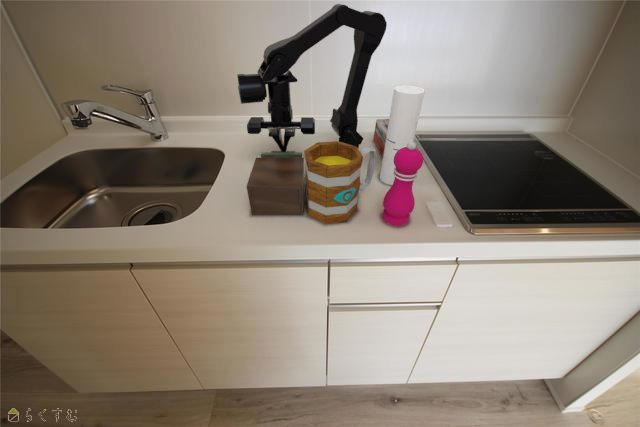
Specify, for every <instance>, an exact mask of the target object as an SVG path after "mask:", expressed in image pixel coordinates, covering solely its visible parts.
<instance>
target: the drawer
mask: <svg viewBox="0 0 640 427" xmlns="http://www.w3.org/2000/svg"><path fill="white" fill-rule="evenodd" d="M260 158H303V152H302V151H299V152H297V151H296V150H286V151H281V150H271V151H270V152H269V151H268V152H267V151H262V152H260Z"/></svg>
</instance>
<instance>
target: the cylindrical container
mask: <svg viewBox="0 0 640 427" xmlns="http://www.w3.org/2000/svg"><path fill="white" fill-rule="evenodd" d="M425 91H426V90H425V89H424V88H423V87H420V86H417V85H410V84H403V85H396V86H394V88H393V94H392V100H391V104H390V113H389V118H388V119H389V124H388V130H387V136H386V142H385V149H384V155H383V156H382V162H381V168H380V173H379V179H380V181H381V182H382V183H384V184H386V185H390V186H392V185H393V183H394V179H395V176H394V175H393V172H394V168H395V165H394V162H393V161H394V156H395V154H396V152H397V151H398V150H399V149H401V148H404V147H407V144H408V143H409V142H411V141H412V142H415V136H416V132H417V128H418V122H419V119H420V113H421V110H422V105H423V100H424V98H425Z"/></svg>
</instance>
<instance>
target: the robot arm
mask: <svg viewBox="0 0 640 427" xmlns="http://www.w3.org/2000/svg"><path fill="white" fill-rule="evenodd" d="M387 23H388V22H387V20H386V18H385V16H384V15H383V14H382V13H380V12H377V11H376V12H375V11H371V10H364V11H359V10H358V9H357V10H356V9H354V8H351V7H350V6H348V5H346V4H342V3H336V4H334V5H333V6H332V7H331V9H329V10H327V11H326V12H325V13H323V14H322V15H320V16H319V17H318V18H316V19H315V20H314V21H312V22H311V23H309V24H308V25H307V26H305V27H304V28H302V29H301V30H299V31H298V32H297V33H295V34H294V35H291V36H290V37H287V38H284V39H280V40H278V41H276V42H274V43H271V44H269V45H268V46H267V47H266V48H265V49H264V51H263V60H262V62H261V64H260V66H259V68H258V70H257V72H256V73H248V74H245V73H238V74H237V76H236V77H237V85H238V86H237V90H238V95H239V99H240V104H241V105H245V104H256V103H263V102H264V101H266V98H268V101H267V113H268V114H269V115H270V121H265V119H264V117H263V116H251V117H250V118H249V120H248V122H247V124H246V132H247V134H249V135H259V134H261V132H262V130H263V129H267V130H268V137H270V138H272V139H273V140H274V141H275V143H276V144H277V146H278V148H279V151H287V149H288V145H289V142H290V140H291V138H294V137H295V136H296V130H300V132H301V134H302V135H314V134H316V119H315V118H314V117H313V116H311V117H310V116H309V117H304V116H303V117H302V116H301V117H300V121H294V120H293V106H292V101H291V84H290V83H297V82H298V79H297V77H296V76H295V75H293V73H292V72H291V68H292V67H293V66H294V65H296V63H297V62H298V60H299V59H300V57H301V56H302V55H303V54H304V53H305V52H307V51H308V50H310V49H312V48H313V47H314V46H315V45H317V44H319V43H320V42H321V41H323V40H324V39H326V38H327V37H328V36H329V35H331V34H333V33H334V32H336V31H338V29H340V28H341V27H343V26H345V27H348V28H351V29H353V45H354V51H353V55H352V60H351V64H350V67H349V68H350V69H349V72H348V76H347V79H346V83H345V88H344V91H343V96H342V101H341V104H340V105H339V107H338V108H333V109H332V114H331V115H332V116H331V118H330V120H329V122H330V123H331V128H332V130H333V131H334V132H335V134H336V135H337V137H338V141H340V142H343V143H346V144H349V145H353V146H356V147H358V149H359V148H360V145H361V144H362V142H363V140H364V136H362V135H361V134H360V133H359V132H358V131H357V130H358V121H359V120H358V107H359V104H360V103H359V102H360V99H361V96H362V92H363V89H364V84H365V81H366V78H367V74H368V71H369V68H370V64H371V60H372V56H373V54H374V53H375V52H376V50H377V49H378V47H380V44H381V43H382V40H383V38H384V36H385V33H386V31H387V25H388V24H387ZM282 130H284V132H283V136H282ZM359 150H360V149H359Z"/></svg>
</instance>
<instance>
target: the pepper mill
mask: <svg viewBox="0 0 640 427" xmlns="http://www.w3.org/2000/svg"><path fill="white" fill-rule="evenodd" d="M393 162H394V165H395V168H394V172H393V175H394V176H395V179H394V183H393V185H390V187H389V189H388V190H387V191H386V193H385V195H384V197H383V199H382V207H383V210H382V211H383V212H382V219H383V221H384V222H385V223H387V224H388V225H390V226H395V227H401V226H404V225H406V224H408V222H409V220H410V216H411V213H412V212H413V211H414V209H415V205H416V204H415V196H414V193H413V185H414V181H415V180H416V179H417V177H418V174H419V170H420V169H421V168H422V167H423V165H424V155H423V153H422V151H420V150H419V149H418V148H417V143H416V142H415V141H413V142H412V141H411V142H409V143H408V144H407V147H404V148H401V149H399V150H398V151H397V152H396V154H395V156H394V161H393Z"/></svg>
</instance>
